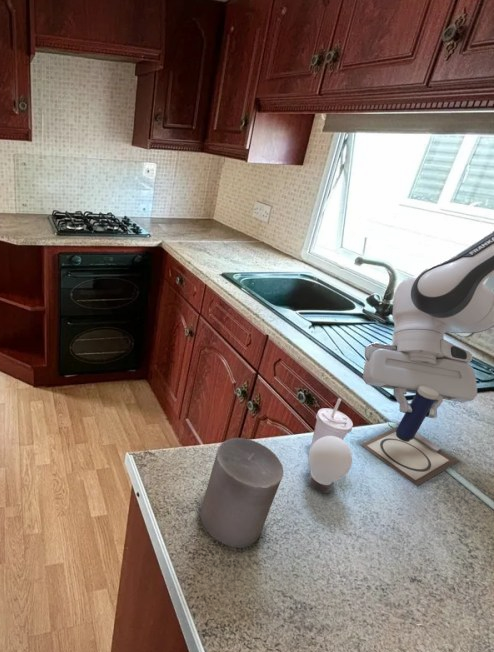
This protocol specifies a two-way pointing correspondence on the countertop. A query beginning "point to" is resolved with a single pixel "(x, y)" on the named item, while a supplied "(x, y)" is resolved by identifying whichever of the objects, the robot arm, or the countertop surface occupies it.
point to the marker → (416, 413)
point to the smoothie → (331, 423)
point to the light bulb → (328, 462)
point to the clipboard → (410, 456)
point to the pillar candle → (240, 492)
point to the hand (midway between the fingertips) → (418, 414)
